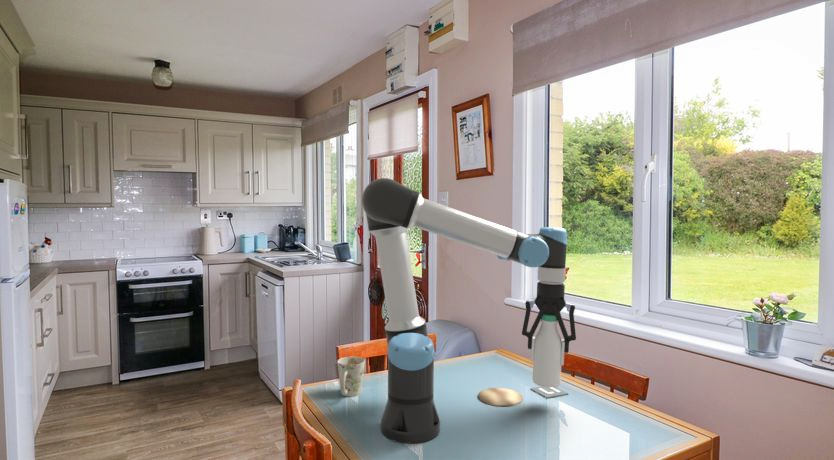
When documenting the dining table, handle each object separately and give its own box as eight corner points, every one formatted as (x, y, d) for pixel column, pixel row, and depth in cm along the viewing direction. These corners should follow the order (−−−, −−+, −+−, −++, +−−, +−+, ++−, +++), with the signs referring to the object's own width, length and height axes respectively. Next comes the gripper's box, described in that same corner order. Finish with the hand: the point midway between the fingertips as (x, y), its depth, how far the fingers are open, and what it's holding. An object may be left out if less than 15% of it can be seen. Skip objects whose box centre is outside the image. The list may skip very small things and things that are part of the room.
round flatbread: (493, 409, 139) (493, 407, 139) (470, 393, 151) (470, 391, 151) (531, 402, 145) (531, 400, 144) (506, 387, 156) (506, 385, 156)
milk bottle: (563, 388, 137) (567, 317, 136) (535, 387, 137) (538, 316, 136) (556, 379, 145) (559, 311, 144) (529, 378, 145) (532, 310, 144)
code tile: (547, 398, 147) (547, 396, 147) (530, 389, 155) (530, 387, 155) (568, 394, 151) (568, 392, 151) (551, 385, 158) (551, 384, 158)
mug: (367, 388, 154) (367, 357, 154) (358, 404, 142) (358, 370, 142) (341, 387, 155) (341, 356, 155) (330, 403, 143) (330, 369, 142)
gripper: (588, 282, 140) (584, 362, 142) (515, 277, 146) (512, 354, 147) (589, 286, 133) (585, 370, 134) (513, 281, 139) (509, 361, 140)
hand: (547, 361), depth 141 cm, fingers closed on milk bottle, 7 cm apart
